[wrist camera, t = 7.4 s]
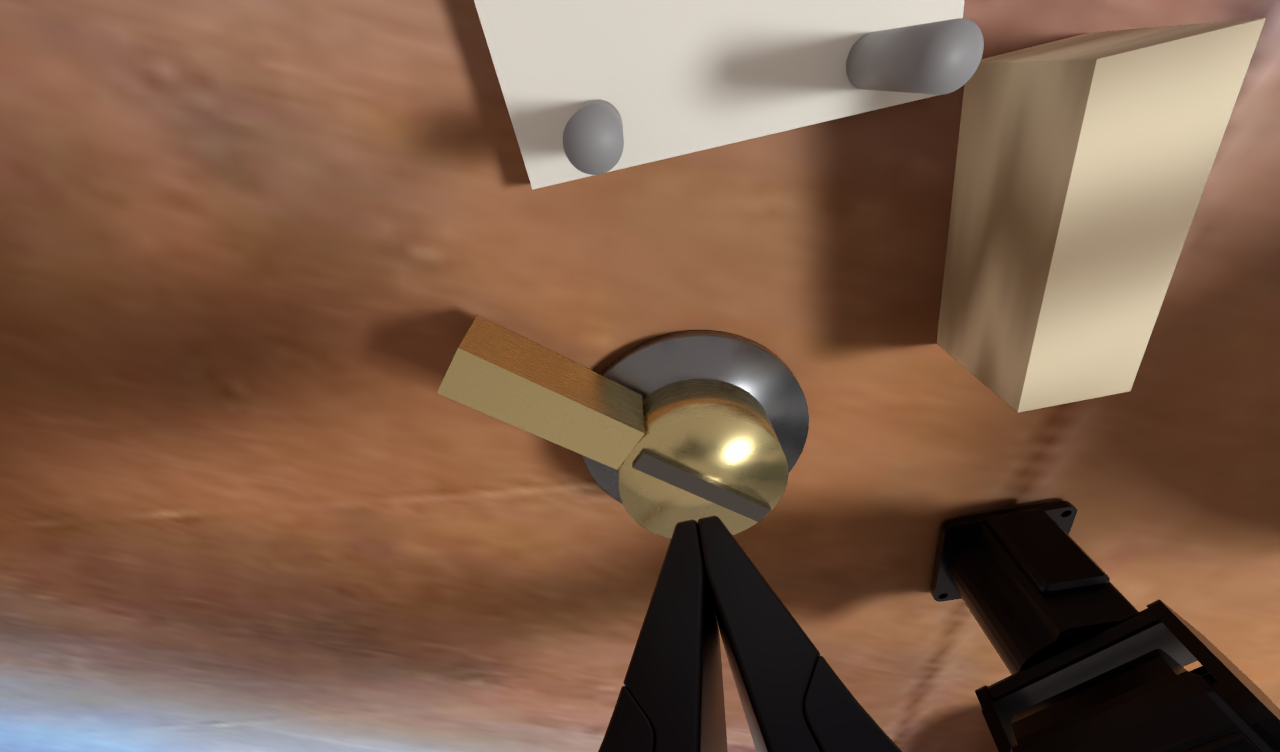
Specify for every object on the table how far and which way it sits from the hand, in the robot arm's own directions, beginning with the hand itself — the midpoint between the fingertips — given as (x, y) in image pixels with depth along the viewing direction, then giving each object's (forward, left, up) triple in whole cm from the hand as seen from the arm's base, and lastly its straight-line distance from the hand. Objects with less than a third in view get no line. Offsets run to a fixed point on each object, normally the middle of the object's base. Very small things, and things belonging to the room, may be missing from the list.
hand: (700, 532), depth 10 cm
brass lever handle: (-4, +2, -10) cm, 11 cm away
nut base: (-6, 0, -11) cm, 12 cm away
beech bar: (+1, -12, -11) cm, 17 cm away
